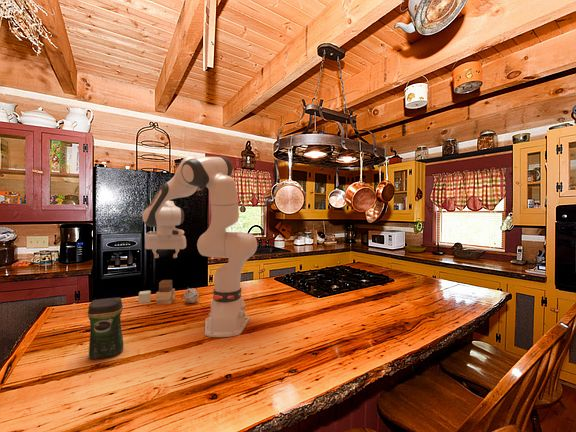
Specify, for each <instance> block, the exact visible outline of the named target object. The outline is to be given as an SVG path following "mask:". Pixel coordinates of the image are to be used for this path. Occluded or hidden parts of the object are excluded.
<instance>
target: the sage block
mask: <svg viewBox="0 0 576 432" xmlns="http://www.w3.org/2000/svg"><path fill="white" fill-rule="evenodd" d="M151 296H152V291H151V290H143V291H139V292H138V304H139V305H140V304H148V303H151V299H152V297H151Z"/></svg>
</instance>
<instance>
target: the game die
mask: <svg viewBox="0 0 576 432" xmlns="http://www.w3.org/2000/svg"><path fill="white" fill-rule="evenodd" d="M182 296H183V298H184V299H183V300H184V303H185V304H188V303H189V304H193V305H196V301H197V300H198V299H199V297H200V293H199V291H198V287H196V288H192V287H191V288H190V287H188V286H187V290H185V292H184V293H183V294H182Z"/></svg>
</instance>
